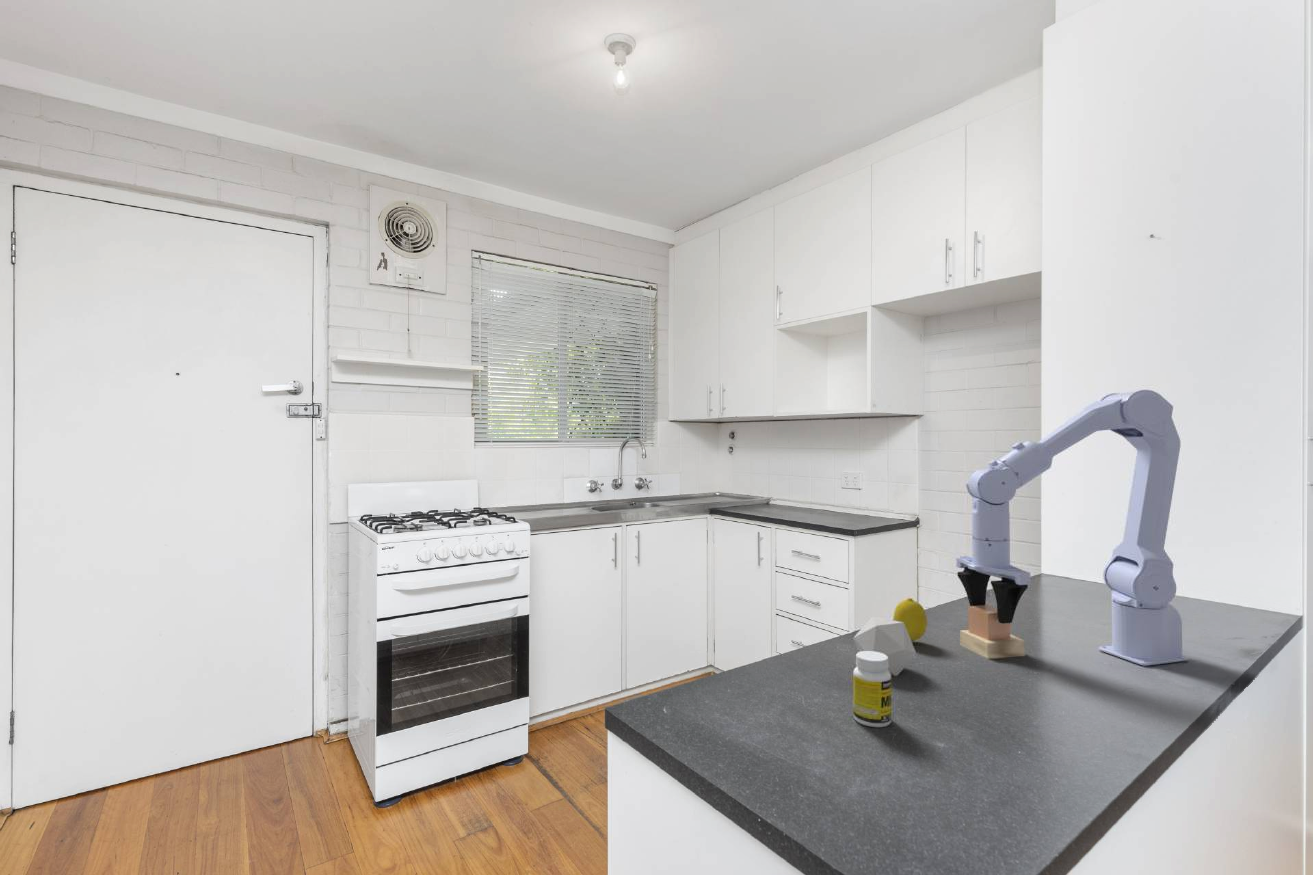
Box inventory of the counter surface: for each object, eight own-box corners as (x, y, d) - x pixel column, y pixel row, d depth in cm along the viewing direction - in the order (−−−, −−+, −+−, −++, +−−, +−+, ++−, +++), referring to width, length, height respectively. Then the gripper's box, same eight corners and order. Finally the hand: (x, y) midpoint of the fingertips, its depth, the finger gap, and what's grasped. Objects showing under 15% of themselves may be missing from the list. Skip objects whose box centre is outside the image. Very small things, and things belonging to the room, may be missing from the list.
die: (924, 673, 99) (898, 615, 104) (922, 662, 92) (895, 601, 97) (873, 688, 100) (851, 630, 106) (868, 678, 94) (844, 617, 99)
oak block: (995, 644, 111) (995, 627, 111) (1025, 658, 105) (1024, 640, 105) (960, 647, 110) (960, 630, 110) (987, 661, 103) (987, 643, 103)
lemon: (930, 648, 108) (929, 602, 108) (896, 646, 109) (896, 601, 109) (923, 638, 114) (922, 594, 114) (891, 636, 115) (890, 593, 115)
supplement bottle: (887, 731, 78) (886, 664, 78) (849, 722, 81) (848, 657, 81) (895, 716, 82) (894, 653, 82) (858, 708, 85) (858, 647, 85)
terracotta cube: (990, 629, 110) (989, 604, 110) (1010, 637, 106) (1010, 611, 106) (968, 632, 109) (968, 606, 109) (988, 640, 105) (987, 613, 105)
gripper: (941, 533, 113) (942, 607, 113) (1004, 546, 99) (1005, 631, 99) (974, 531, 115) (975, 605, 115) (1040, 544, 101) (1041, 628, 101)
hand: (991, 617), depth 107 cm, fingers open, 6 cm apart
